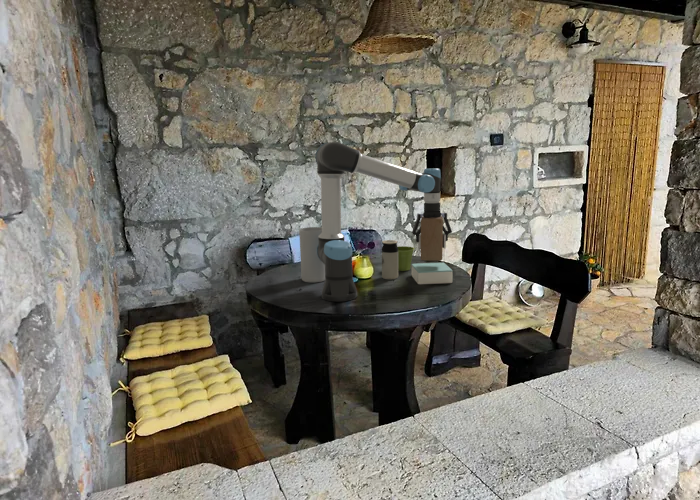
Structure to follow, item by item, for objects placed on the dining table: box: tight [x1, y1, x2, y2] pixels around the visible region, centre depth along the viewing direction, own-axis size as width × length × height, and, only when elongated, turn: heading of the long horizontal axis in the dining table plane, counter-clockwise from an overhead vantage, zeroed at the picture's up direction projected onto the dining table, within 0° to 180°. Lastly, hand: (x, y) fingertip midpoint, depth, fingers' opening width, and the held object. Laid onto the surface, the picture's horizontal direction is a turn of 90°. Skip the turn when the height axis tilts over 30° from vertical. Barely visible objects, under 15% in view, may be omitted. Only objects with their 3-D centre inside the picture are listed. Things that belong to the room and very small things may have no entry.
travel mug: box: [381, 239, 399, 280], centre depth 228 cm, size 8×8×18 cm
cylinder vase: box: [298, 226, 325, 284], centre depth 227 cm, size 12×12×25 cm
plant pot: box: [397, 245, 415, 272], centre depth 244 cm, size 12×12×11 cm
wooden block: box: [420, 215, 444, 262], centre depth 221 cm, size 10×10×20 cm
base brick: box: [411, 262, 454, 285], centre depth 224 cm, size 16×16×6 cm
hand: (431, 248), depth 222 cm, fingers closed on wooden block, 11 cm apart
